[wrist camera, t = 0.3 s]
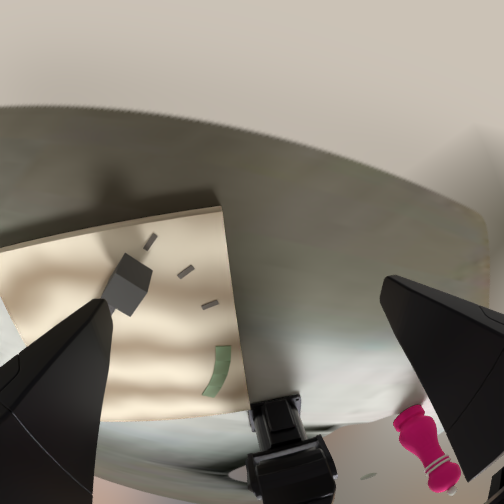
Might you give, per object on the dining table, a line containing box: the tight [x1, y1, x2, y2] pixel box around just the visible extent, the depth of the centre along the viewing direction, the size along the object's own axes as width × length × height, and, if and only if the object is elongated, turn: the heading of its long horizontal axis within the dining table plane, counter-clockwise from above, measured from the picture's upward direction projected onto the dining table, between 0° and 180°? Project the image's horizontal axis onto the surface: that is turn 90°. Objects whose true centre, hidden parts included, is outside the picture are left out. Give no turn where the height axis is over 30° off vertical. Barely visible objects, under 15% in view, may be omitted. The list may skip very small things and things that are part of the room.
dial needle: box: [101, 253, 153, 317], centre depth 21 cm, size 15×5×4 cm, turn 140°
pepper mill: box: [393, 405, 461, 495], centre depth 35 cm, size 7×7×20 cm
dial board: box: [0, 206, 251, 422], centre depth 25 cm, size 23×22×2 cm
